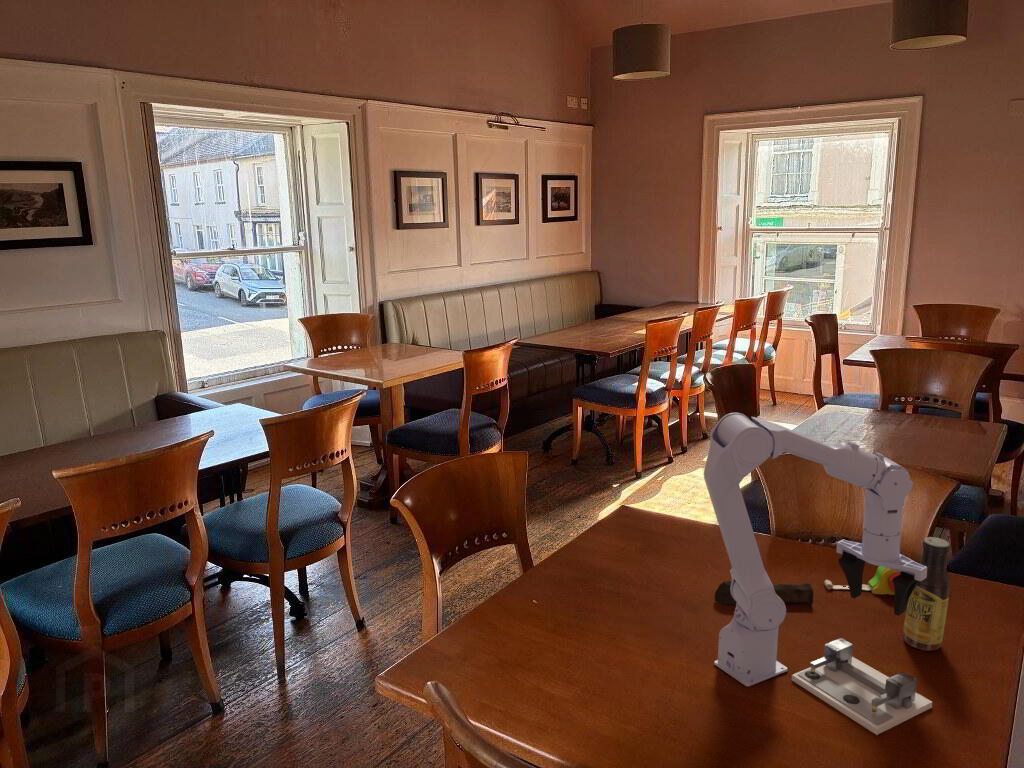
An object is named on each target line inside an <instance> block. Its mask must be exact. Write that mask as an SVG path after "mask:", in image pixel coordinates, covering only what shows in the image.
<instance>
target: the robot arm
mask: <svg viewBox="0 0 1024 768" xmlns="http://www.w3.org/2000/svg"><path fill="white" fill-rule="evenodd" d="M751 419H752V420H751ZM709 439H710V442H709V444H710V445H709V450H708V454H707V457H706V462H705V465H704V470H703V478H704V482H705V485H706V488H707V491H708V494H709V498H710V501H711V504H712V507H713V511H714V514H715V518H716V521H717V523H718V527H719V530H720V533H721V536H722V540H723V544H724V546H725V549H726V553H727V556H728V558H729V561H730V562H729V563H730V565H731V569H730V570H729V573H730V576H731V581H732V582H731V587H730V591H731V595H732V597H733V598H734V600H735V601H736V605H735V609H734V611H733V618H732V619H731V621H730V622H729V623H728V624H727V625H725V626H723V627H722V628H721V629H720V631H719V634H718V647H717V648H718V649H717V652H718V653H717V660H714V663H713V664H714V665H715V666H716V667H718V669H720V670H722V671H723V672H725V673H726V674H728V675H729V676H731V677H732V678H734V679H735V681H738V682H739V683H741V684H742V685H744V686H745V687H751V686H754V685H756V684H759V683H761V682H764V681H766V680H768V679H770V678H773V677H776V676H778V675H780V674H783V673H785V672H787V671H788V667H787V666H785V665H784V664H782V662H780V661H778V660H777V655H778V641H779V640H778V639H779V626H780V625H781V624H782V623H783V622H784V620H785V618H786V615H787V608H786V607H787V606H786V603H785V602H783V601H782V599H781V598H780V597H779V596H777V594H776V593H775V590H774V587H773V585H774V584H773V583H772V581H771V578H770V577H769V575H768V573H767V571H766V569H765V566H764V563H763V560H762V555H761V553H760V549H759V547H758V543H757V540H756V537H755V534H754V533H755V532H754V530H753V526H752V523H751V520H750V516H749V514H748V510H747V506H746V503H745V500H744V497H743V493H742V490H741V488H740V487H741V486H740V483H741V482H742V481H743V479H744V478H746V477H747V476H748V475H749V474H751V473H752V472H754V471H755V469H757V468H759V466H761V465H762V464H763V463H764V462H765V461H767V460H768V458H769V457H770V458H772V459H776V458H778V457H780V456H781V455H782V454H784V453H787V454H790V455H793V456H797V457H799V458H802V459H806V460H809V461H812V462H814V463H818V464H820V465H823V468H824V469H823V470H824V471H825V473H826V474H827V475H828V476H831V477H833V478H836V479H838V480H841V481H843V482H847V483H849V484H852V485H855V486H858V487H860V488H863V489H865V491H864V504H863V505H864V507H863V509H864V510H863V523H862V541H861V542H856V541H850V540H846V539H841V540H839V541H837V542H836V553H837V554H840V555H841V556H840V557H839V558H838V565H839V566H840V568H841V569H842V572H843V574H844V576H845V579H846V582H847V584H848V585H847V586H849V589H848V590H849V593H850V598H851V599H856V598H858V597H860V596H861V595H862V591H863V590H862V584H863V577H864V576H863V575H864V570H865V566H866V563H868V564H870V565H873V566H878V567H879V566H882V567H886V568H889V569H892V570H894V571H897V572H900V575H898V576H896V577H894V578H893V584H894V590H895V595H894V607H893V612H894V615H896V616H900V615H902V614H904V613H906V606H907V602H908V600H909V598H910V596H911V594H912V592H913V590H914V589H915V587H916V586H917V584H918V583H919V582H920V581H922V580H924V579H925V578H926V577H927V567H926V566H923V565H921V564H920V563H919V562H916V561H915V560H912V559H911V558H909V557H907V556H905V555H903V554H901V553H900V552H901V538H902V528H903V527H902V525H903V510H904V506H905V499H906V497H907V496H908V495H909V494H910V492H911V490H912V488H913V485H914V481H912V480H911V477H910V473H909V471H907V469H906V468H905V467H904V466H902V465H900V464H898V463H897V462H895V461H894V460H891V459H889V458H888V457H885V455H883V454H882V453H879V452H875V453H871V452H869V451H867V450H864V449H861V448H860V445H859V444H857V443H856V442H854V441H851V440H849V441H847V443H845V442H842V441H840V442H835V443H834V444H833V443H832V444H831V445H828V444H826V443H823V442H820V441H818V440H815V439H814V438H812V437H809V436H807V435H804V434H802V433H800V432H796V431H795V430H793V429H790V428H788V427H785V426H783V425H780V424H777V423H774V422H771V421H768V420H767V419H766V420H765V419H762V418H761V417H760V418H759V417H755V416H751V417H750V418H749V417H748V416H746V415H745V414H744V413H740V412H730V413H727V414H725V415H724V416H722V417H721V418H720V419H719V420H718V422H717V423H716V424H715V425H714V427H713V428H712V429H711V430H710V433H709Z"/></svg>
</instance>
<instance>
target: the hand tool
mask: <svg viewBox="0 0 1024 768" xmlns="http://www.w3.org/2000/svg"><path fill="white" fill-rule="evenodd" d="M731 582H732V580H725V581H723V582H722V583H720V584H719V586H718V587H717V589H716V590H715V592H714V602H716V603H718V604H725V605H735V606H736V601H735V600H734V598H733V597H732V595H731V591H730V587H731ZM772 585H773V587H774V590H775V593H776V594H777V596H779V597H780V598H781V599H782V601H783V602H784V603H792V604H800V603H806V604H808V605H809V606H812V605H813V603H814V589H813V587H812V585H811V583H808V582H805V583H800V584H792V583H791V584H790V583H789V584H787V583H785V584H784V583H778V584H772Z"/></svg>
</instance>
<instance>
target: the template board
mask: <svg viewBox="0 0 1024 768" xmlns="http://www.w3.org/2000/svg"><path fill="white" fill-rule="evenodd" d="M810 671H811V667H810V666H809V667H808V668H805V669H803V670H800V671H798V672H795V673H794V674H792V675H791V681H792V682H794V683H795V684H796V685H799V686H800V687H802V688H803V689H805V690H806V691H807V692H809V693H811V694H813V695H814V696H816V697H817V698H819V699H820V700H822V701H823V702H825V703H826V704H828V705H829V706H831V707H833V708H834V709H835V710H837V711H839V712H840V713H842V714H843V715H845V716H846V717H848V718H850V719H851V720H853V721H854V722H856V723H857V724H859V725H861V726H862V727H864V728H865V729H867V730H868V731H869V732H871V733H872V734H875V735H876V736H878V735H879V734H881V733H884V732H886V731H888V730H890V729H892V728H894V727H896V726H898V725H900V724H902V723H904V722H905V721H908V720H910V719H912V718H914V717H915V716H918V715H919V714H922V713H924V712H926V711H928V710H930V709H932V707H933V701H932V700H930V699H928V698H926V697H925V696H923V695H922V694H920V693H917V692H916V693H915V701H913V702H912V700H911V699H910V698H908V697H907V698H905V699H903V704H902V707H901V708H899V709H898V708H896V707H894V706H893V705H891V704H889V703H888V702H886V703H884V704H881V705H879V706H877V712H872V704H871V703H872V699H874V698H876V697H878V696H881V695H883V694H885V686H886V679H888V678H890V676H887V675H886V674H884V673H882V672H881V671H879V670H876V669H875V668H873V667H871V666H869V665H868V664H866V663H864V662H863V661H861V660H859V659H857V658H856V657H854V656H852V664H849V663H847V662H845V661H842V662H840V667H839V670H837V671H834V670H832V669H830V668H829V667H827V666H825V665H823V666H821V667H818V668H816V669H815V674H811V673H810Z"/></svg>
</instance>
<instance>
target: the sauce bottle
mask: <svg viewBox="0 0 1024 768" xmlns="http://www.w3.org/2000/svg"><path fill="white" fill-rule="evenodd" d="M950 546H951V545H950V543H949V541H948V540H945V539H943V538H940V537H935V536H928V537H925V538H924V539H923V541H922V550H923V551H922V555H921V559H920V563H919V564H921V565H923V566H926V567H927V577H926V578H925V579H924V580H922V581H920V582H919V583H918V584H917V586H916V587H915V589H914V590H913V592H912V594H911V596H910V598H909V600H908V602H907V605H906V608H905V615H904V616H905V617H904V623H903V629H902V630H903V639H904V642H905V643H906V644H907V645H909V647H912V648H914V649H917V650H920V651H923V652H929V651H931V652H932V651H937V650H939V649H940V647H941V645H942V641H943V638H944V632H945V625H946V619H947V613H948V607H949V599H950V589H951V585H952V584H951V582H952V581H951V577H950V575H949V574H948V572H947V568H946V567H947V557H948V553H949V552H950Z"/></svg>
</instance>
